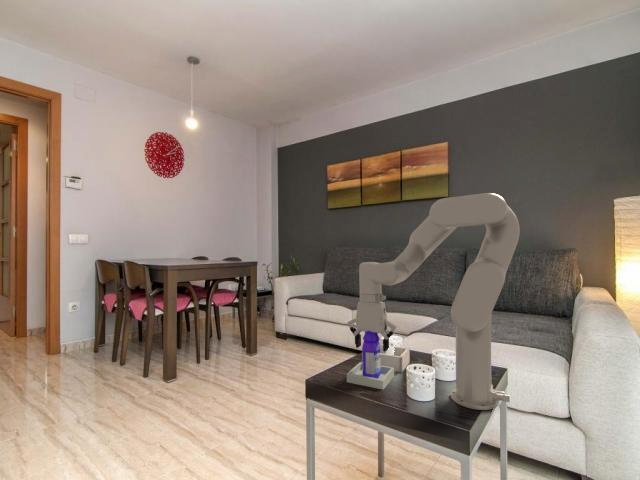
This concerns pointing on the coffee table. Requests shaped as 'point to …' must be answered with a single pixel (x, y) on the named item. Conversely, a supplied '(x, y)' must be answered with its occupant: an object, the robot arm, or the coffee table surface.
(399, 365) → the box
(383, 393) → the coffee table surface
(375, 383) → the tray
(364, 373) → the bottle
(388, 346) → the robot arm
